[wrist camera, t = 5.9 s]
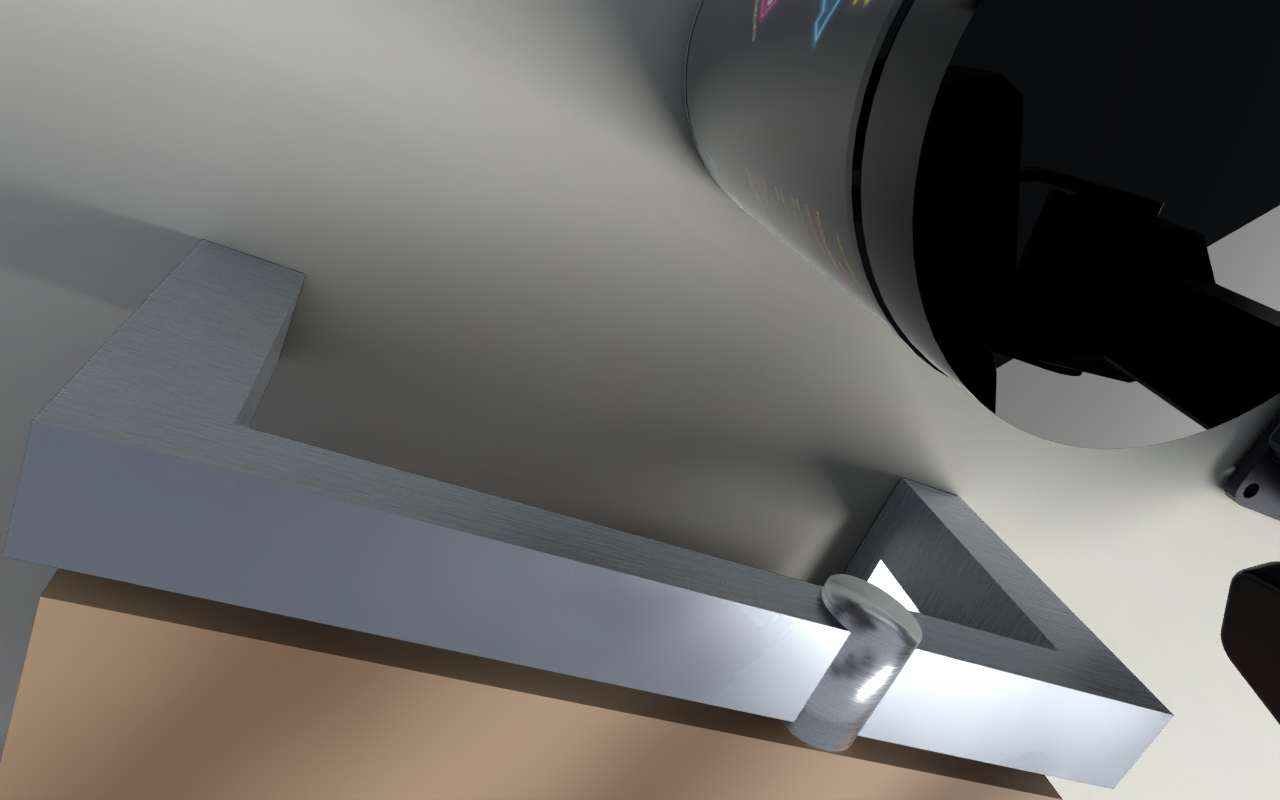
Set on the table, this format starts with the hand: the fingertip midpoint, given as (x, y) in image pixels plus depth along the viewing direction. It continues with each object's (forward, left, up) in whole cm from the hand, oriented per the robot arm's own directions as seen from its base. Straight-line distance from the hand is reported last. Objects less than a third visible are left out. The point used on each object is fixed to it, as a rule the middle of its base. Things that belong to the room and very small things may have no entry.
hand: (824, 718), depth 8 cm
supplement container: (-3, -6, -13) cm, 14 cm away
